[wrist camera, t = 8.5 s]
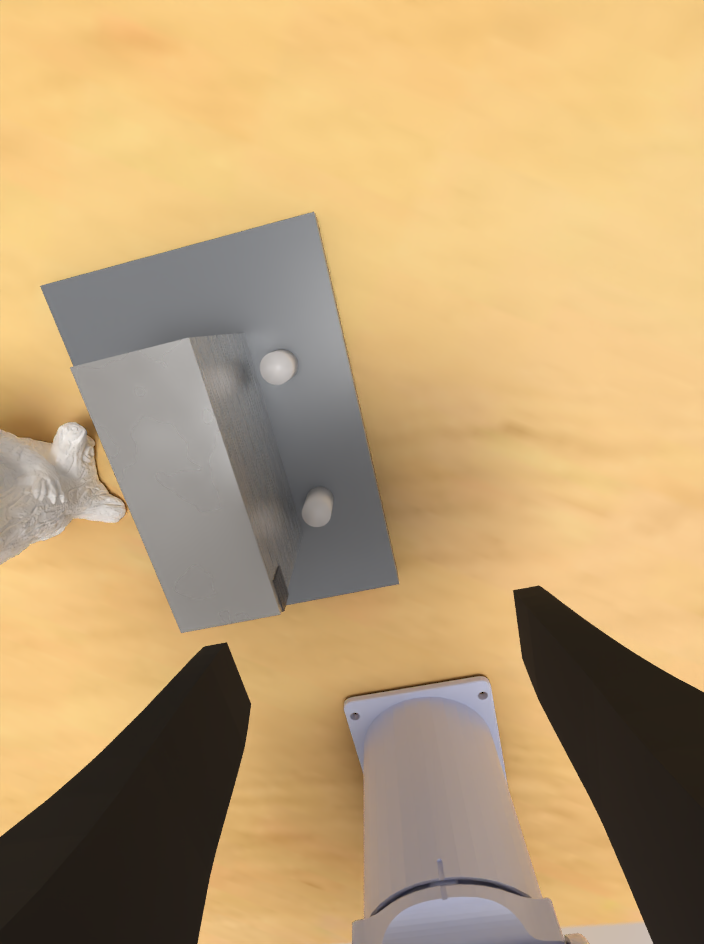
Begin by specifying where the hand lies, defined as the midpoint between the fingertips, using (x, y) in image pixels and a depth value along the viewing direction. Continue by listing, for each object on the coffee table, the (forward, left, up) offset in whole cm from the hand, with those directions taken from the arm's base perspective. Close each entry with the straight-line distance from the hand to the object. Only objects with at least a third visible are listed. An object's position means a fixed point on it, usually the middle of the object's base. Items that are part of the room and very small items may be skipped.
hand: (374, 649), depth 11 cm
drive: (+4, +5, -9) cm, 11 cm away
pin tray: (+4, +5, -10) cm, 12 cm away
